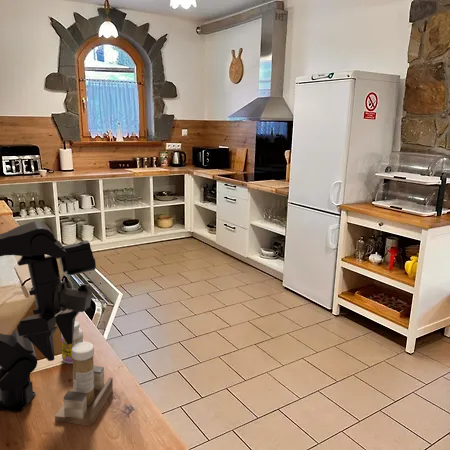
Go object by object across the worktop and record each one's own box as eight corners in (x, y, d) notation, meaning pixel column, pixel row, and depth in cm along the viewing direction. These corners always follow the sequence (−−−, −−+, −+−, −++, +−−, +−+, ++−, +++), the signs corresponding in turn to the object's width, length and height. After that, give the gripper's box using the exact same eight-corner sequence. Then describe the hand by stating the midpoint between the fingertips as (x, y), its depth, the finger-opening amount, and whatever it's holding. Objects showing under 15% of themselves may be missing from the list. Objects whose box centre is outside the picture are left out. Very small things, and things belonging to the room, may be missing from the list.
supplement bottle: (58, 358, 110) (56, 323, 108) (76, 350, 114) (75, 316, 112) (69, 367, 107) (67, 331, 104) (87, 359, 111) (86, 323, 108)
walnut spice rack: (55, 420, 89) (53, 396, 87) (80, 385, 100) (79, 363, 99) (91, 425, 88) (91, 401, 87) (112, 389, 100) (112, 367, 98)
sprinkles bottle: (76, 393, 96) (74, 341, 92) (96, 393, 96) (95, 341, 93) (71, 407, 91) (68, 352, 88) (92, 407, 92) (91, 352, 88)
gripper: (64, 285, 80) (80, 364, 81) (98, 267, 99) (111, 331, 100) (8, 294, 81) (25, 372, 82) (52, 274, 99) (65, 338, 101)
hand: (61, 351), depth 91 cm, fingers open, 9 cm apart
